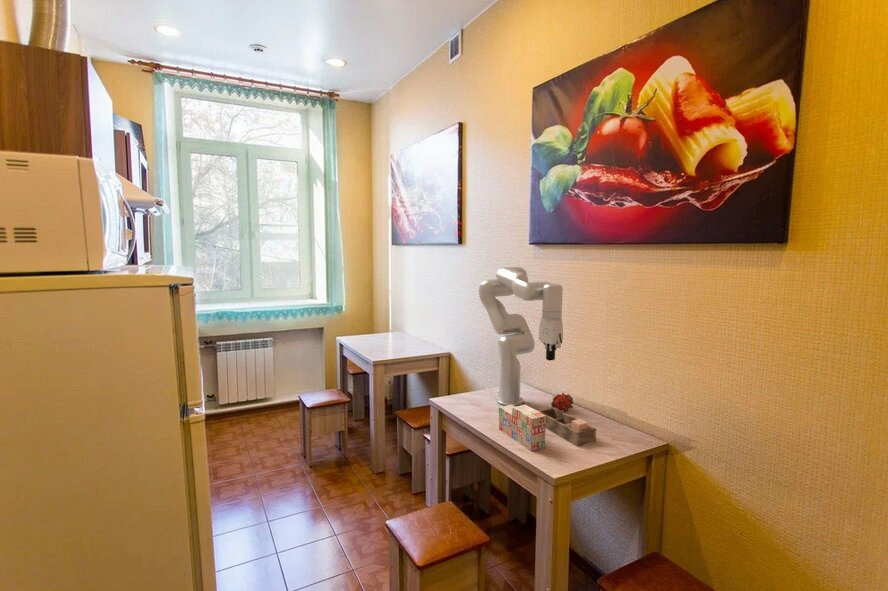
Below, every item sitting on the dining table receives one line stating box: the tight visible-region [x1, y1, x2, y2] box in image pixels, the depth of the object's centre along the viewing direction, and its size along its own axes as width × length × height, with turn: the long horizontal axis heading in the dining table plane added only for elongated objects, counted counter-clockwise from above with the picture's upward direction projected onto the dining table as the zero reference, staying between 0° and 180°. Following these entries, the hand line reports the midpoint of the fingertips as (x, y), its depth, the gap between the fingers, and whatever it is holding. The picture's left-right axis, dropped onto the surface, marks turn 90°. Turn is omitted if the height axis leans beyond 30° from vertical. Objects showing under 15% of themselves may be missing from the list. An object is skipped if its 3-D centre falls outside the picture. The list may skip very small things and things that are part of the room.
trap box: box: [537, 407, 597, 447], centre depth 170 cm, size 24×9×5 cm, turn 25°
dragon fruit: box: [551, 392, 575, 413], centre depth 192 cm, size 8×8×12 cm
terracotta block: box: [571, 418, 588, 432], centre depth 162 cm, size 4×4×4 cm
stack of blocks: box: [498, 404, 547, 452], centre depth 164 cm, size 21×6×12 cm, turn 26°
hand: (550, 359), depth 176 cm, fingers closed
